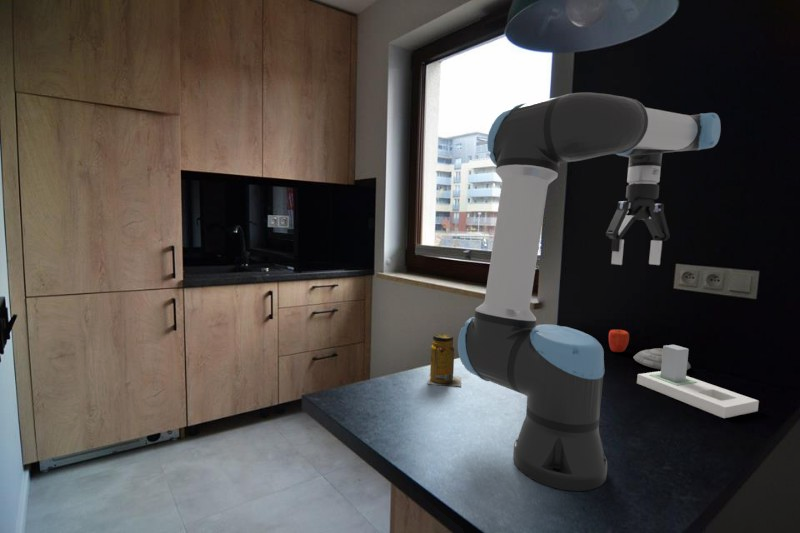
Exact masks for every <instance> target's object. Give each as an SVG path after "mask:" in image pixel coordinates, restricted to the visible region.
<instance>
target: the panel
mask: <svg viewBox="0 0 800 533" xmlns="http://www.w3.org/2000/svg"><path fill="white" fill-rule="evenodd" d="M660 375H661V370H660V371H659V370H658V371H652V372H651V371H650V372H646V373H645V372H643V373H638V374H637V378H636V384H638V385H641V386H643V387H646V388H648V389H650V390H652V391H655V392H658V393H660V394H663V395H666V396H667V397H670V398H673V399H675V400H678V401H680V402H683V403H685V404H686V405H687V404H688V405H689V406H692V407H694V408H698V409H700V410H702V411H704V412H707V413H709V414H712V415H714V416H717V417H719V418H723V419H726V418H732V417H737V416H740V415H746V414H751V413H756V412H758V411H759V403H760V401H759V400H758V399H755V398H752V397H749V396H746V395H743V394H740V393H737V392H735V391H731V390H729V389H726V388H723V387H720V386H717V385H714V384H711V383H708V382H705V381H704V380H703V381H702V380H700V379H697V378H694V377H690V376H689V375H686V381H685V382H680V383H674V382H671V381H669V380H666V379H663V378H660Z"/></svg>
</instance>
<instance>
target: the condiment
mask: <svg viewBox="0 0 800 533" xmlns="http://www.w3.org/2000/svg"><path fill="white" fill-rule="evenodd" d="M430 353H431V354H430V368H429V369H430V374H428V381H427V384H428V385H435V386H452V387H462V376H459V375H458V376H455V375H454V370H455V369H454V367H455V365H454V364H455V346H454V336H453V335H450V334H448V333H437V334H434V335H433V337H432V345H431V348H430Z"/></svg>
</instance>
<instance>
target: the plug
mask: <svg viewBox="0 0 800 533" xmlns="http://www.w3.org/2000/svg"><path fill="white" fill-rule="evenodd" d="M661 349H662V365H661V370H660V371H661V375H660V378H663V379H666V380H669V381H671V382H674V383H680V382H685V381H686V376H687V371H688V370H687V361H688V360H689V359H688V358H689V350H690V349H689V348H687V347H683V346H680V345H676V344H669V345H667V344H666V345H663V347H662V348H661ZM688 362H689V361H688Z"/></svg>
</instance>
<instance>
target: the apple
mask: <svg viewBox="0 0 800 533" xmlns="http://www.w3.org/2000/svg"><path fill="white" fill-rule="evenodd" d="M629 341H630V333H629V332H628V331H626V330H623V329H610V330H609V332H608V345H609V348H610V350H611V352H613V353H623V352H625V351H626V348H627V346H629Z"/></svg>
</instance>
